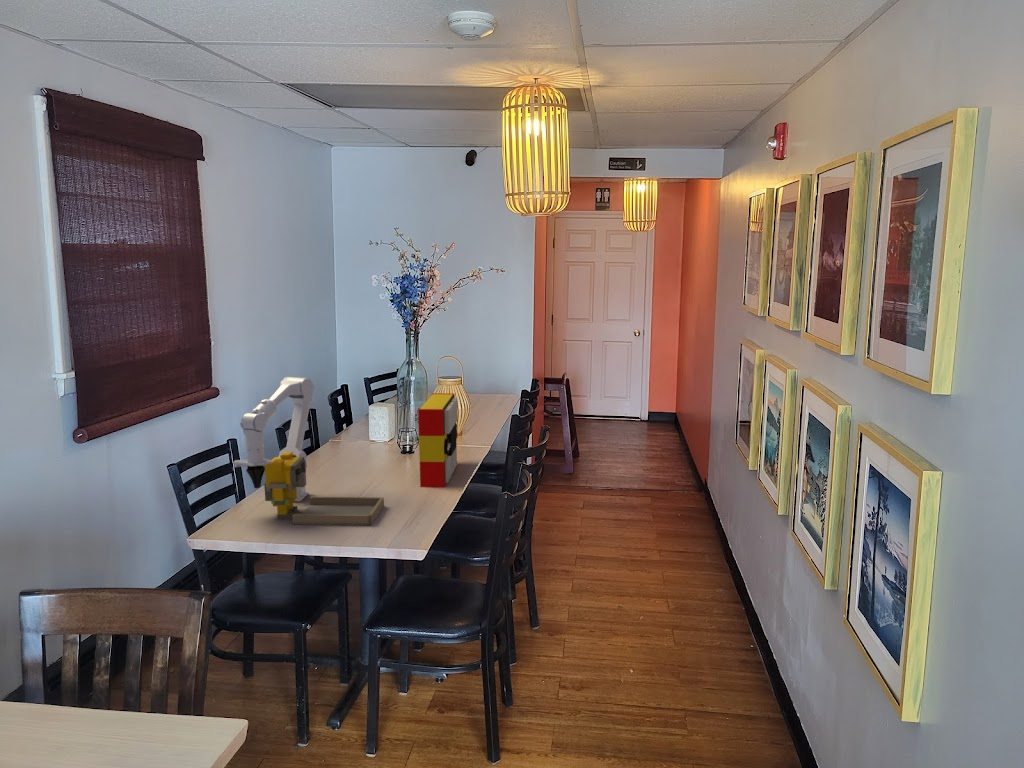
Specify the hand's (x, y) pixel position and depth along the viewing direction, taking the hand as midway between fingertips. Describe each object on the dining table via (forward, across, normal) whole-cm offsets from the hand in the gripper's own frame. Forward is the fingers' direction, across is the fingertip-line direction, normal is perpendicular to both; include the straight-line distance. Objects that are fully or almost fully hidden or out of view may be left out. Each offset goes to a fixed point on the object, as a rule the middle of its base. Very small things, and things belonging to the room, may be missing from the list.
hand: (257, 487), depth 262 cm
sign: (+10, +55, +49) cm, 74 cm away
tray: (+9, +28, 0) cm, 30 cm away
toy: (+10, +10, 0) cm, 14 cm away
